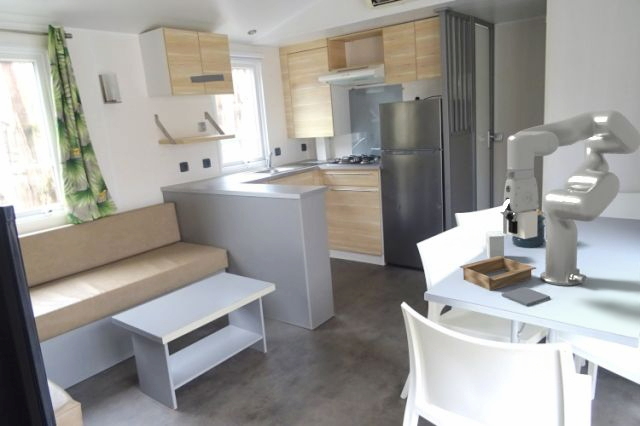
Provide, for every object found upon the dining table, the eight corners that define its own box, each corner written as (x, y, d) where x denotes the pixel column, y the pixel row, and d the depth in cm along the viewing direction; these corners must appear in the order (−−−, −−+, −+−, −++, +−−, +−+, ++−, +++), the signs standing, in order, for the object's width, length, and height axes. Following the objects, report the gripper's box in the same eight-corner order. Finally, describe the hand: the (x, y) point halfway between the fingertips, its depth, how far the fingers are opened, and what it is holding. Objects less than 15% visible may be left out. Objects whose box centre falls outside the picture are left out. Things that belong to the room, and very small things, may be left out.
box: (537, 236, 140) (537, 211, 138) (524, 238, 138) (524, 213, 137) (515, 230, 148) (515, 206, 147) (503, 233, 146) (503, 209, 145)
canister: (538, 239, 204) (538, 200, 200) (549, 247, 191) (550, 206, 188) (508, 240, 205) (508, 202, 202) (517, 249, 193) (517, 208, 189)
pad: (549, 298, 142) (550, 296, 142) (526, 306, 138) (526, 303, 138) (524, 289, 151) (524, 286, 151) (501, 295, 147) (501, 293, 147)
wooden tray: (536, 279, 158) (536, 267, 157) (494, 292, 151) (494, 279, 150) (499, 267, 173) (498, 256, 172) (459, 278, 166) (459, 266, 165)
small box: (504, 261, 179) (504, 236, 177) (489, 261, 180) (489, 236, 178) (500, 255, 186) (500, 230, 184) (486, 255, 188) (486, 231, 186)
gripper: (507, 178, 133) (507, 238, 137) (551, 172, 139) (550, 229, 142) (489, 176, 140) (490, 233, 143) (531, 170, 146) (531, 225, 149)
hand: (519, 230), depth 143 cm, fingers closed on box, 5 cm apart
